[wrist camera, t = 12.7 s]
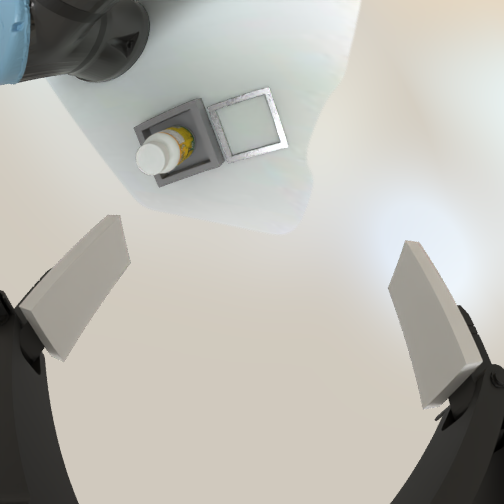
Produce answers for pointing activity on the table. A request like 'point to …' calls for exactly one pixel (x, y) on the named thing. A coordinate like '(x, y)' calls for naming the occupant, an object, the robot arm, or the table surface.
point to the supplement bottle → (165, 150)
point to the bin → (205, 140)
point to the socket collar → (253, 152)
